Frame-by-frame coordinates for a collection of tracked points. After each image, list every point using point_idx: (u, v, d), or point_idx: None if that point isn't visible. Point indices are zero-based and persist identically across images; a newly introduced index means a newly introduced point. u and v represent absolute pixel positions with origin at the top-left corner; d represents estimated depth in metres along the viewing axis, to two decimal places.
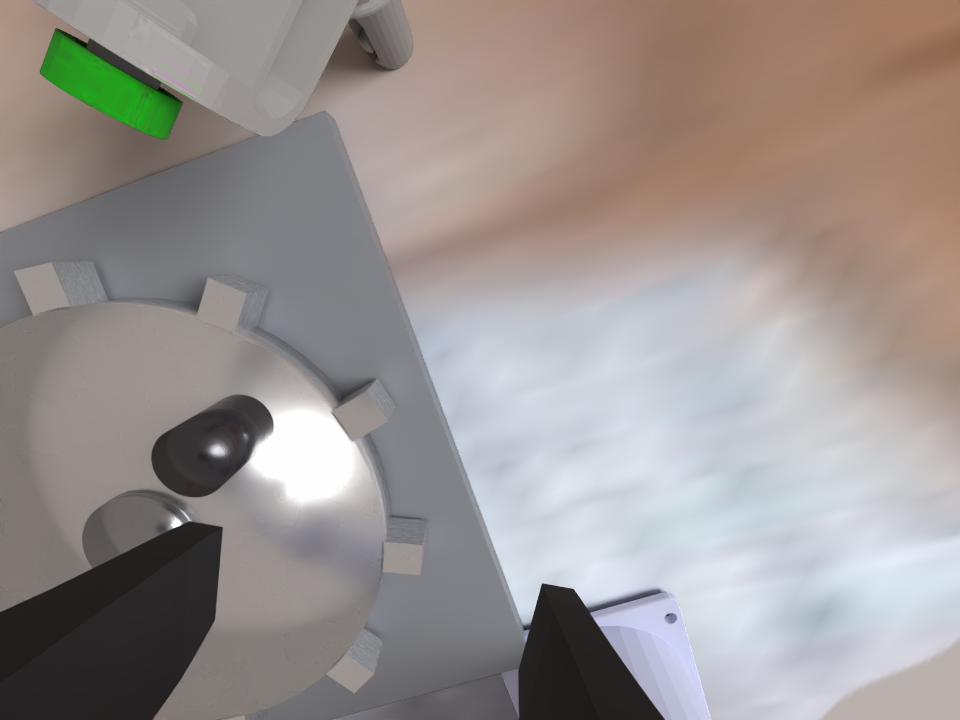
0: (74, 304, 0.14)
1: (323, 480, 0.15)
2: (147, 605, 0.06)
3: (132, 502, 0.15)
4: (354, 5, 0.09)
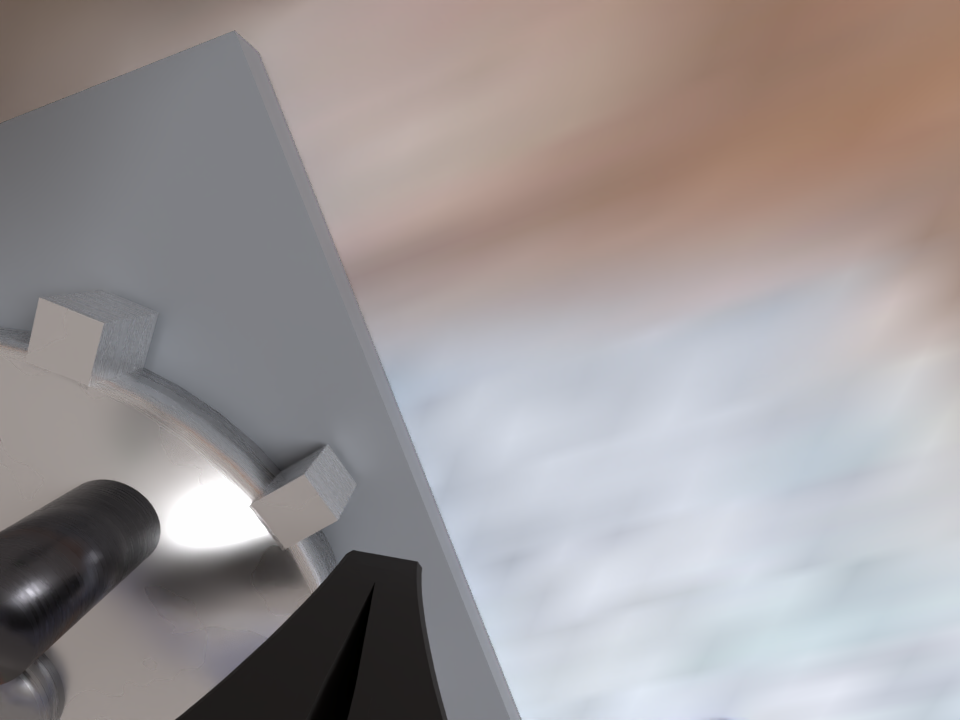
0: None
1: (240, 605, 0.10)
2: (353, 639, 0.07)
3: None
4: None
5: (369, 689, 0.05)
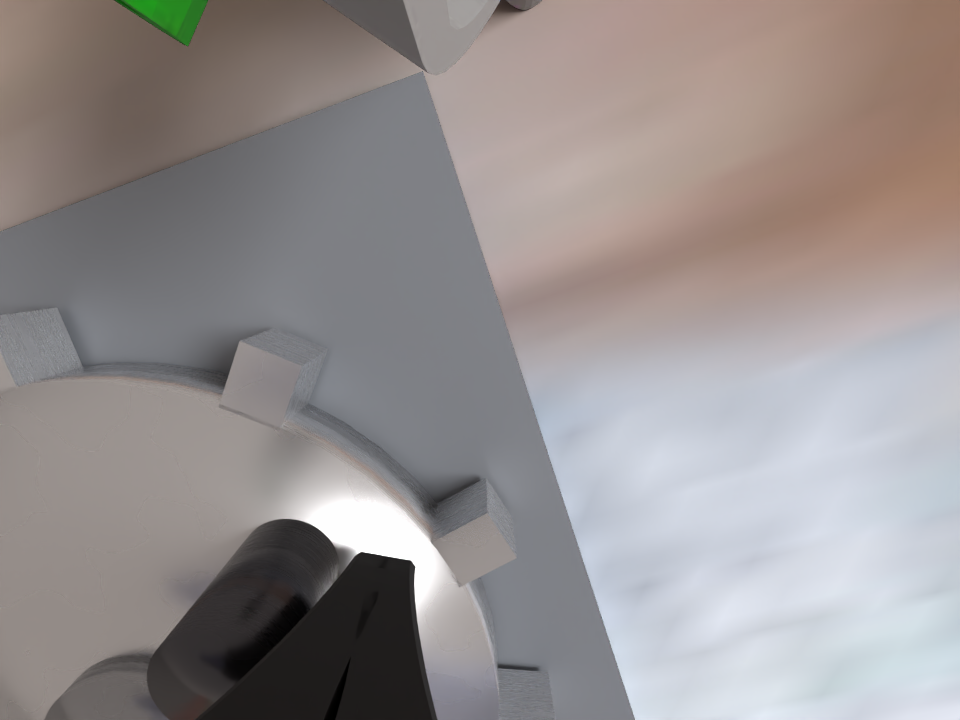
0: (24, 382, 0.09)
1: None
2: None
3: (119, 684, 0.10)
4: None
5: (358, 687, 0.05)
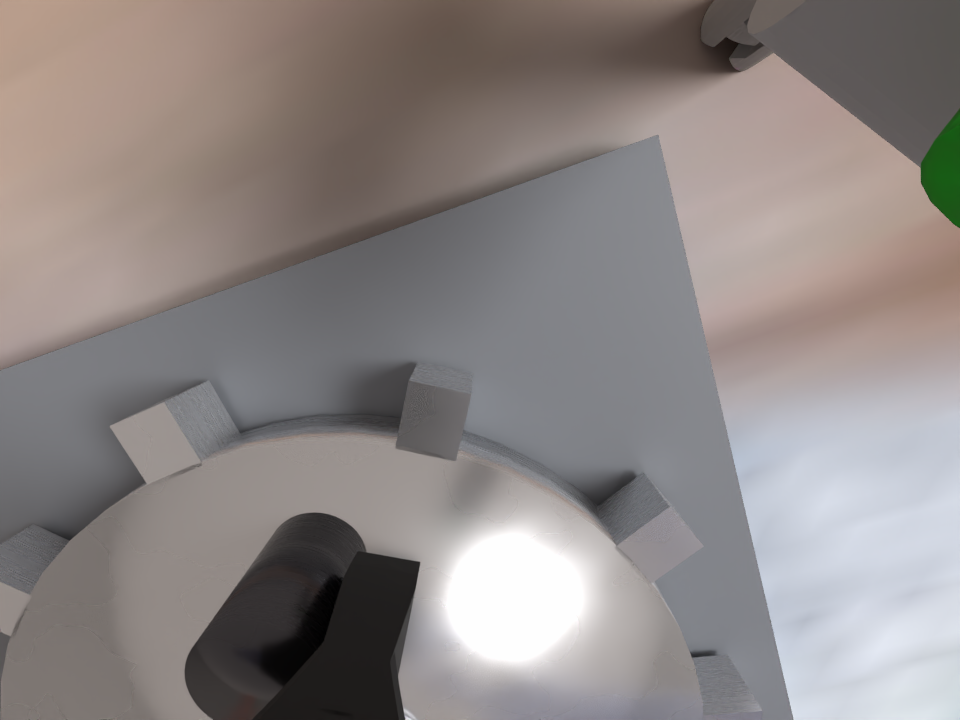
0: None
1: (469, 537, 0.09)
2: (399, 647, 0.07)
3: None
4: None
5: (326, 682, 0.05)
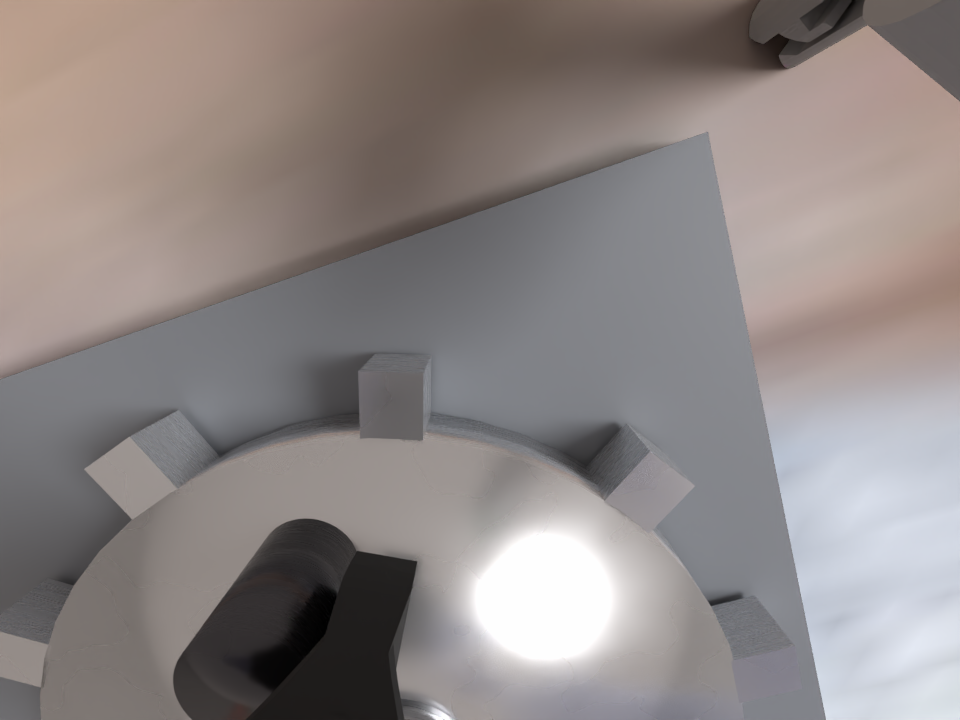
0: None
1: (453, 517, 0.09)
2: (395, 646, 0.07)
3: None
4: None
5: (325, 682, 0.05)
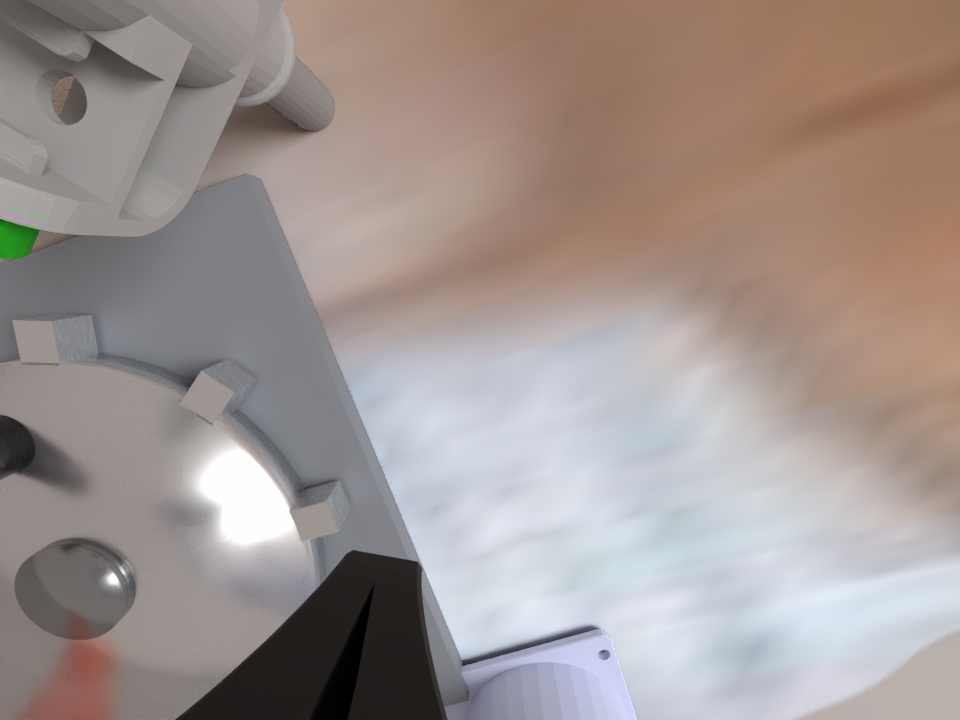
0: None
1: (88, 414, 0.15)
2: (353, 640, 0.07)
3: (23, 570, 0.16)
4: (231, 107, 0.10)
5: (369, 689, 0.05)
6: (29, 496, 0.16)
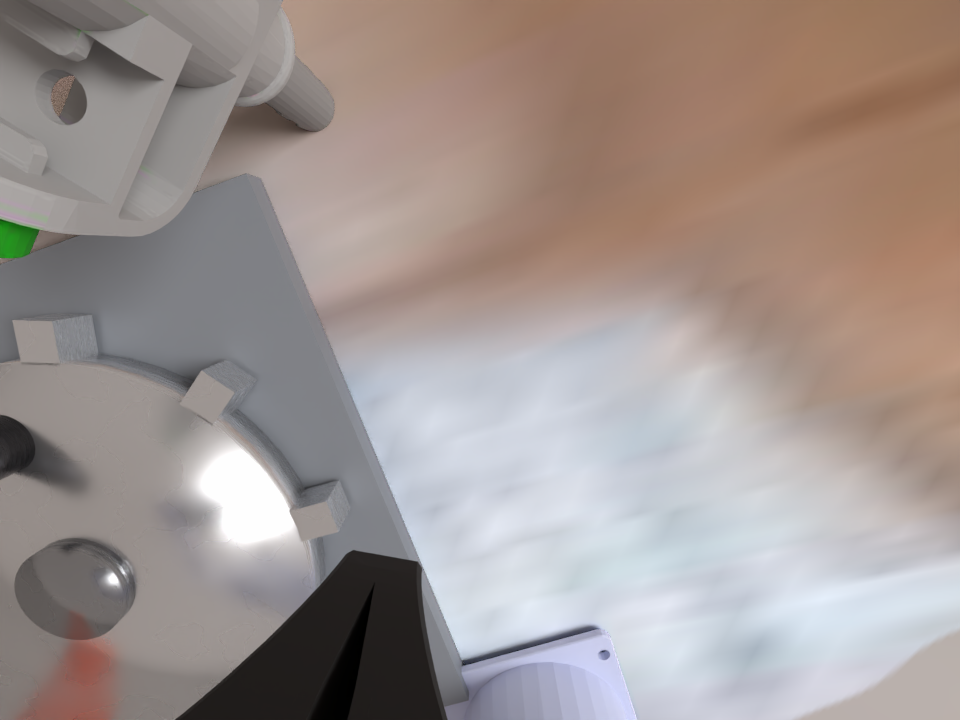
0: None
1: (88, 414, 0.15)
2: (353, 640, 0.07)
3: (23, 570, 0.16)
4: (231, 107, 0.10)
5: (369, 689, 0.05)
6: (29, 496, 0.16)
